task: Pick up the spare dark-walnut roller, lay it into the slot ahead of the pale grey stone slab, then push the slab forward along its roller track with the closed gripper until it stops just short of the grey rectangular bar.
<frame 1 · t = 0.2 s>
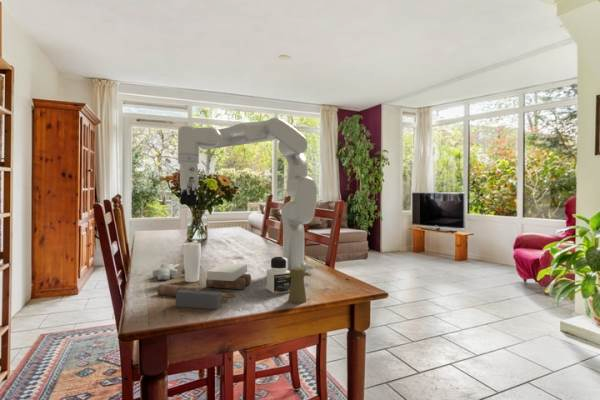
hand: (187, 205, 130), 31 cm above the table, tool pointing down, fingers open, 9 cm apart
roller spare: (178, 296, 119), on the table
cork: (297, 301, 114), on the table
bunny figurine: (166, 277, 144), on the table
medicine bottle: (279, 290, 126), on the table
slab: (228, 271, 130), point 6 cm above the table, slide at 0.0 cm
track: (227, 286, 130), on the table
white cup: (192, 281, 137), on the table
grey rectangular bar: (198, 306, 108), on the table
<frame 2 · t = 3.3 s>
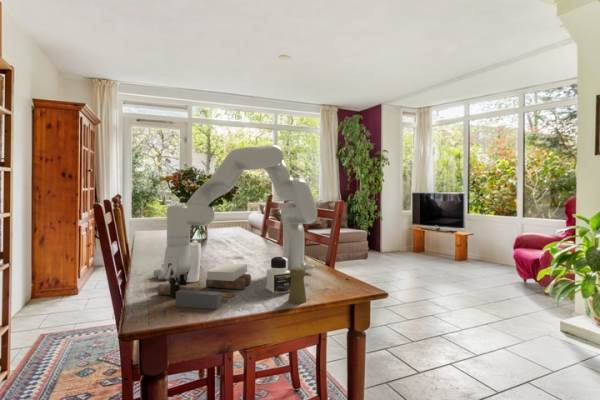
hand: (178, 293, 119), 1 cm above the table, tool pointing down, fingers closed on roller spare, 3 cm apart
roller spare: (178, 295, 119), on the table, touching gripper
when the fingers open (1 cm above the table, at t = 7.6 s): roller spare drops 1 cm, on the table.
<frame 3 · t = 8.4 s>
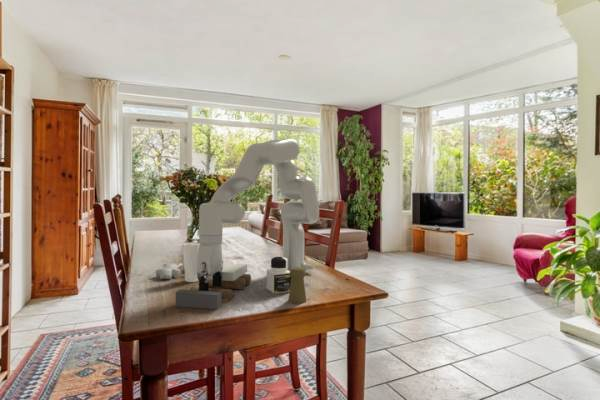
hand: (210, 290, 116), 3 cm above the table, tool pointing down, fingers open, 9 cm apart
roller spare: (211, 298, 116), on the table
slab: (228, 271, 130), point 6 cm above the table, slide at 0.0 cm, touching gripper
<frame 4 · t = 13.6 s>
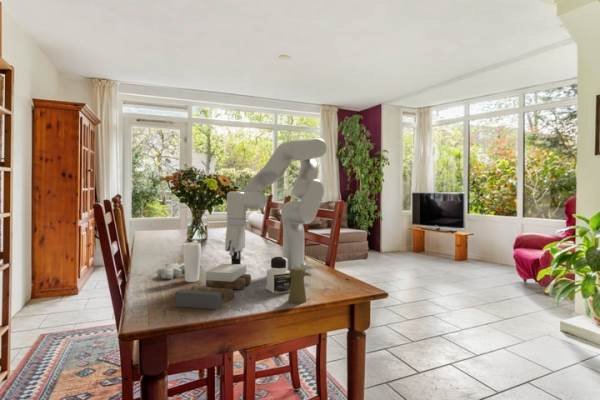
hand: (236, 267, 138), 5 cm above the table, tool pointing down, fingers closed
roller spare: (211, 298, 116), on the table, tilted 14°
slab: (227, 272, 129), point 6 cm above the table, slide at 0.8 cm, touching gripper
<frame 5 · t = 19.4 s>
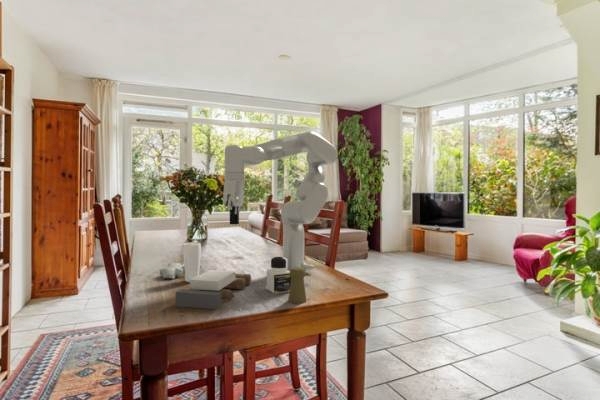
hand: (234, 224, 135), 23 cm above the table, tool pointing down, fingers closed
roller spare: (211, 298, 116), on the table, tilted 20°
slab: (213, 279, 118), point 6 cm above the table, slide at 11.9 cm
at the end: slab slide at 11.9 cm; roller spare inside the target area (0.1 cm from its centre), on the table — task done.
